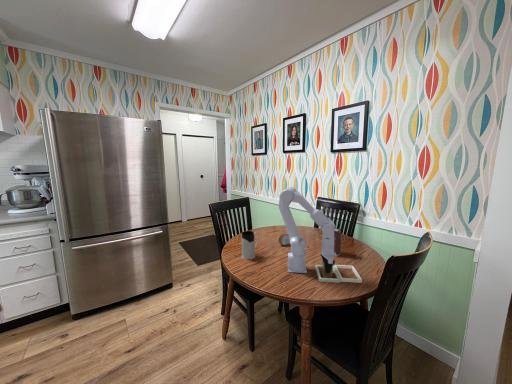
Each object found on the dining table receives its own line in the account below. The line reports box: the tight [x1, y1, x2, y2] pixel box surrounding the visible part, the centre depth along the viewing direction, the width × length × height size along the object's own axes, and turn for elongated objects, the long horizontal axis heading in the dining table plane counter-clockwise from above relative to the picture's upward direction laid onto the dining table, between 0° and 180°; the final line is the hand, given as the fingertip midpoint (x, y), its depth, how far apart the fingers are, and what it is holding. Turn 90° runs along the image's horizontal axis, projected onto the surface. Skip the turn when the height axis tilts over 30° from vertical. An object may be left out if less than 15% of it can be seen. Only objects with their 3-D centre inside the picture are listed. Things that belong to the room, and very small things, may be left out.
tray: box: [333, 264, 363, 284], centre depth 105 cm, size 10×14×2 cm
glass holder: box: [241, 230, 260, 260], centre depth 129 cm, size 9×14×15 cm, turn 137°
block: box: [321, 261, 333, 278], centre depth 105 cm, size 4×4×7 cm
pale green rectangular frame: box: [314, 264, 341, 284], centre depth 105 cm, size 10×14×2 cm
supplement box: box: [334, 228, 342, 257], centre depth 129 cm, size 9×5×16 cm, turn 40°
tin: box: [278, 231, 290, 246], centre depth 146 cm, size 15×3×8 cm, turn 120°
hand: (327, 270), depth 105 cm, fingers closed on block, 4 cm apart
